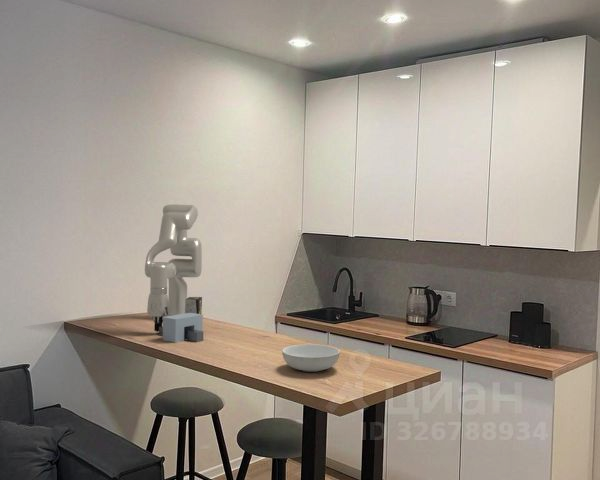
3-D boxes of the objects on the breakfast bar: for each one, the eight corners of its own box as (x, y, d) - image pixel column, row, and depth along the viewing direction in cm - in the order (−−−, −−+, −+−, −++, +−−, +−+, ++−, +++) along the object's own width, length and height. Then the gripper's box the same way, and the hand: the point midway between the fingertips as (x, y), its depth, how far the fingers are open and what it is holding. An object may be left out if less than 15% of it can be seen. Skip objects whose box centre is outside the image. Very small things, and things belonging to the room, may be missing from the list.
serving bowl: (294, 359, 227) (294, 341, 227) (346, 365, 220) (346, 347, 219) (272, 372, 208) (272, 352, 208) (328, 379, 200) (329, 359, 200)
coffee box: (198, 334, 269) (198, 299, 268) (184, 334, 269) (184, 299, 268) (202, 330, 278) (202, 296, 277) (188, 330, 278) (189, 296, 277)
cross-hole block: (162, 339, 255) (163, 317, 255) (189, 334, 268) (190, 312, 268) (175, 342, 251) (175, 319, 250) (202, 336, 264) (202, 314, 263)
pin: (154, 335, 265) (154, 325, 264) (167, 332, 271) (167, 322, 271) (193, 342, 251) (193, 331, 251) (206, 339, 258) (206, 329, 258)
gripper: (141, 290, 269) (141, 329, 270) (163, 293, 261) (162, 334, 261) (154, 288, 275) (154, 327, 276) (176, 292, 267) (175, 332, 267)
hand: (158, 330), depth 269 cm, fingers closed
